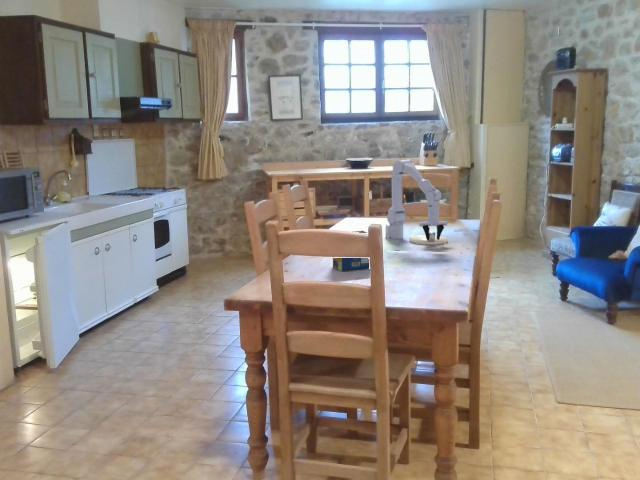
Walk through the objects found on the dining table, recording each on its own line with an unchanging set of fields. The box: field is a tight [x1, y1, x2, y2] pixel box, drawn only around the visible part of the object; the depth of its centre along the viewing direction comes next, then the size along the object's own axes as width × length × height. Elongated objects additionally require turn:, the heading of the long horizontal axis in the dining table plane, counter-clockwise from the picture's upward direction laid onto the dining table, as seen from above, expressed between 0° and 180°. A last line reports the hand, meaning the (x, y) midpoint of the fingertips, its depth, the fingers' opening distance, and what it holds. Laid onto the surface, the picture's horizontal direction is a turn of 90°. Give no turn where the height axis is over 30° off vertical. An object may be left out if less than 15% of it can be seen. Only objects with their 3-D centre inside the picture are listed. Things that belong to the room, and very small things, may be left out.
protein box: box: [332, 230, 369, 272], centre depth 269 cm, size 10×15×16 cm
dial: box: [408, 231, 449, 246], centre depth 321 cm, size 20×20×6 cm
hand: (432, 239), depth 314 cm, fingers open, 5 cm apart
